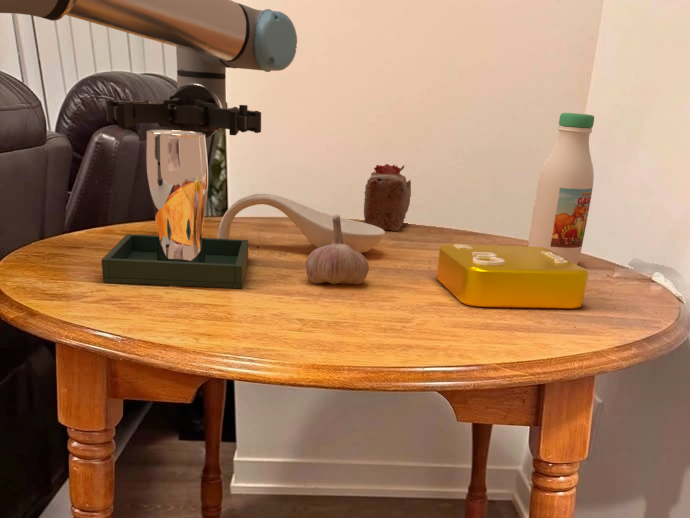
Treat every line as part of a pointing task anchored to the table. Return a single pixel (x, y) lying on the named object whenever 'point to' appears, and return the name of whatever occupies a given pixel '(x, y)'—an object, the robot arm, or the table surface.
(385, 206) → the food item
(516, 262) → the element tile
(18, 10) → the robot arm
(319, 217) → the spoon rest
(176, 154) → the beer glass
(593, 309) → the table surface
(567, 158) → the milk bottle
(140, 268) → the serving tray
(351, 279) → the garlic bulb
